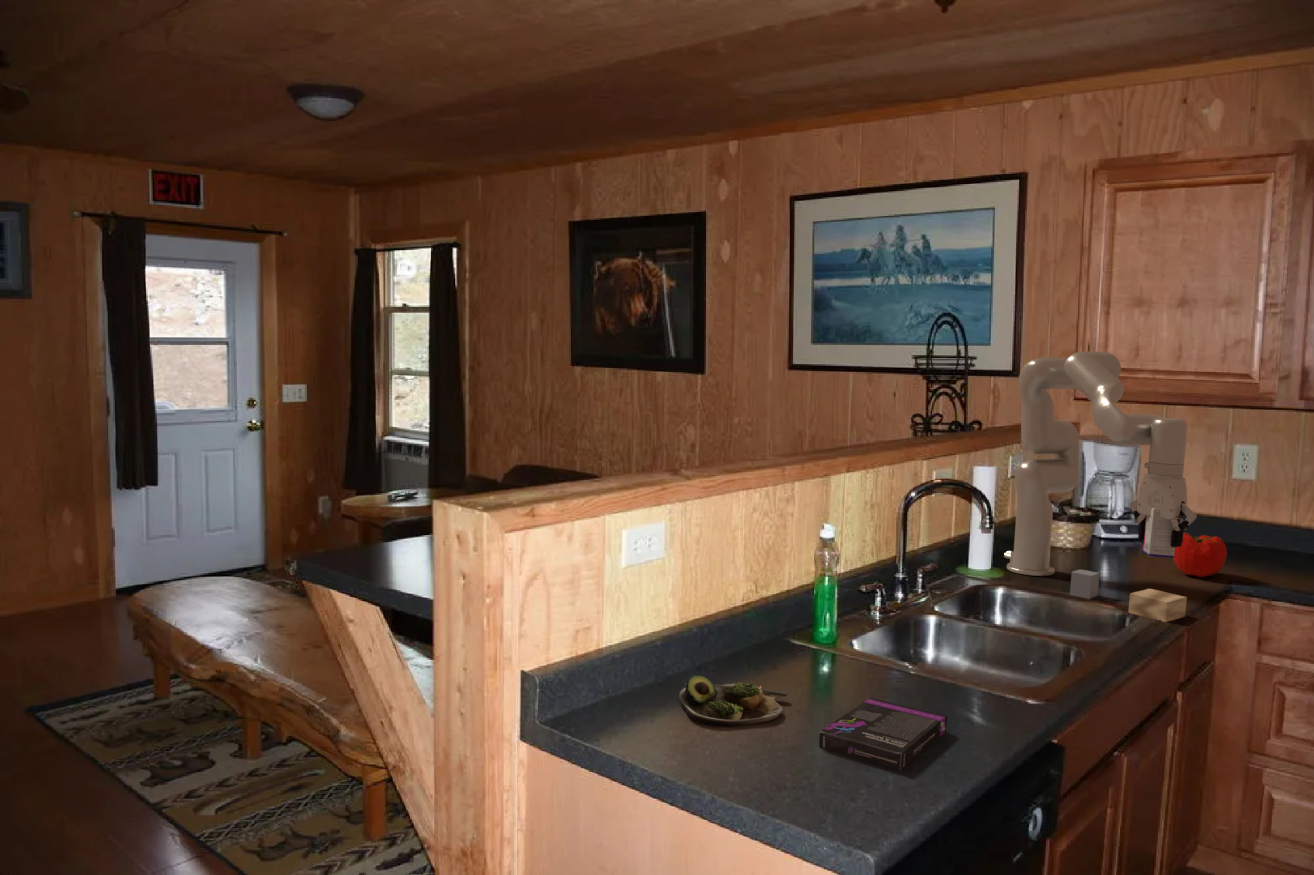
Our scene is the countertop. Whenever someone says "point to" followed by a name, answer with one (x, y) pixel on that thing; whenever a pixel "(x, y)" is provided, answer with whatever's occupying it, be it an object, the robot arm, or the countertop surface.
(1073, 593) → the slate block
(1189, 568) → the tomato
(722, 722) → the avocado toast plate
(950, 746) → the countertop surface
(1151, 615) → the maple block
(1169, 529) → the supplement box
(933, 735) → the box
